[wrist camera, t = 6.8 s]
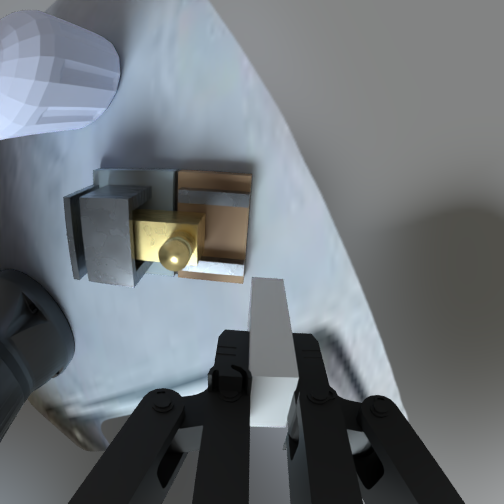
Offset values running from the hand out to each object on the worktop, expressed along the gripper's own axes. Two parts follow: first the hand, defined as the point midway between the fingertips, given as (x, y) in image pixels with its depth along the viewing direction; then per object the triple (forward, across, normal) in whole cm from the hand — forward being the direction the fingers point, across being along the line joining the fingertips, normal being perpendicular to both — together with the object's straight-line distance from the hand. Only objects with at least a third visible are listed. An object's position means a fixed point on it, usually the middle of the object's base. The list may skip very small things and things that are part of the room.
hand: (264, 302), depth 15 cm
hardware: (+10, -8, 0) cm, 13 cm away
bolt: (+10, -8, 0) cm, 13 cm away
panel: (+12, -8, 0) cm, 14 cm away
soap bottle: (+12, -17, +13) cm, 24 cm away
